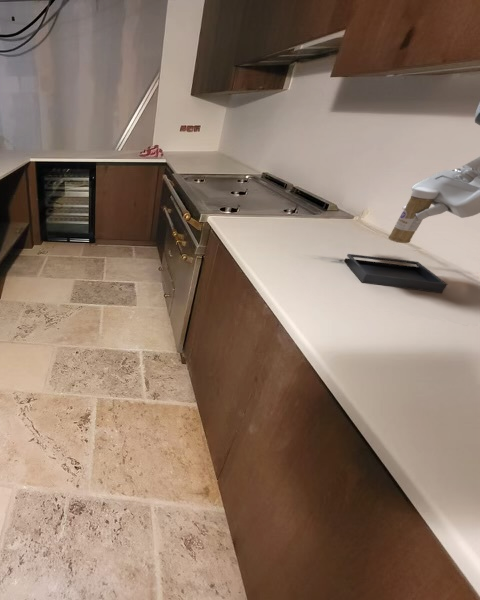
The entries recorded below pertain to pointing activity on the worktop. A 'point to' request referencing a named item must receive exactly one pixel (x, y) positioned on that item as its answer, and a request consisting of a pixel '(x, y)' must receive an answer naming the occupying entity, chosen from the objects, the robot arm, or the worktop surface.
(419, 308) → the worktop surface
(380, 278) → the tray
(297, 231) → the worktop surface
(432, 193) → the sprinkles bottle
